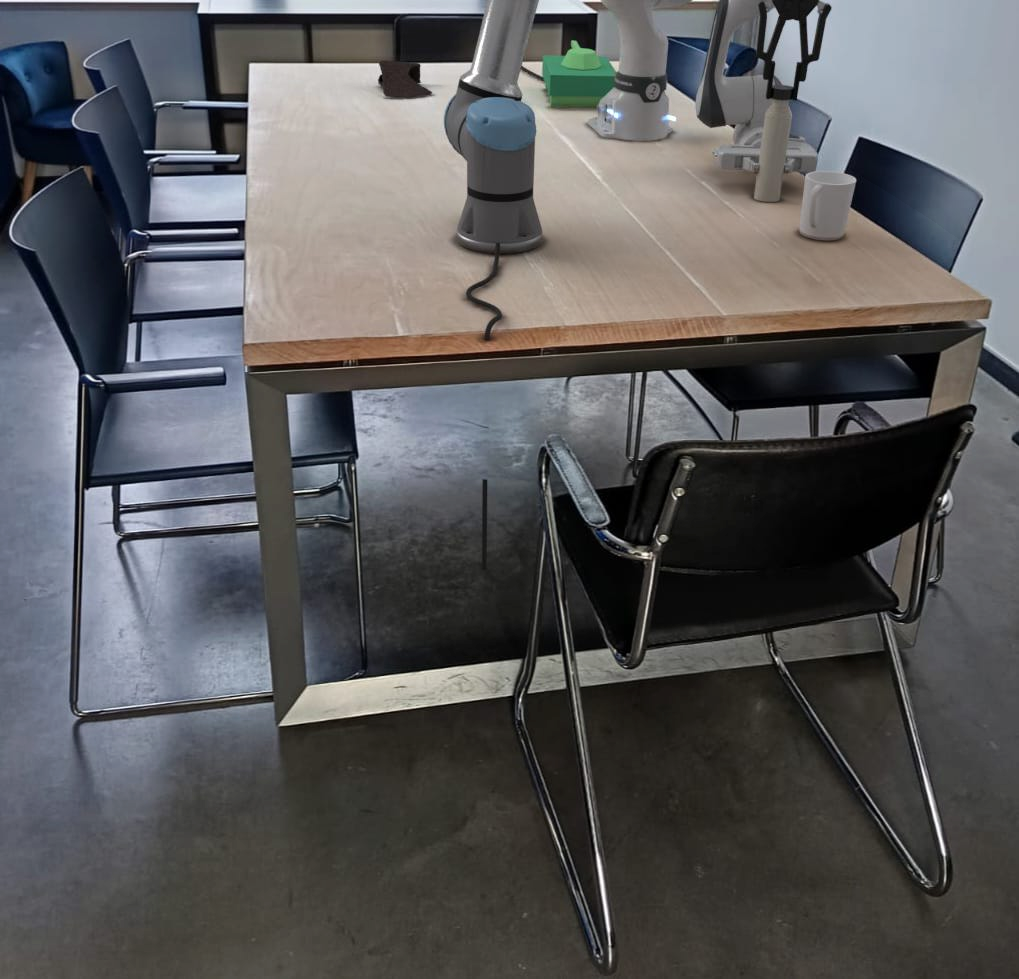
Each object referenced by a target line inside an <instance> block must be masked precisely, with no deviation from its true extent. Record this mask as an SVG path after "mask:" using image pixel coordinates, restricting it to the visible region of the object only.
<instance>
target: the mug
mask: <svg viewBox="0 0 1019 979" xmlns="http://www.w3.org/2000/svg"><path fill="white" fill-rule="evenodd" d="M856 183H857V178H856V177H855V176H853V175H851V174H848V173H844V172H840V171H832V170H815V171H814V172H806V174H805V177H804V184H803V194H802V203H801V212H800V219H799V228H798V232H799V234H800V235H802V236H803V237H805V238H809V239H812V240H817V241H836V240H840V239H842V238H843V237H844V236H845V230H846V227H847V221H848V217H849V215H850V214H849V213H850V209H851V205H852V201H853V196H854V193H855V189H856Z"/></svg>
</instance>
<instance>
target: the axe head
mask: <svg viewBox="0 0 1019 979" xmlns="http://www.w3.org/2000/svg"><path fill="white" fill-rule="evenodd" d="M378 66H379V68H380V72H381V74H379V75H378V79H377V84H378V85H379V86H380V87H381V88H382V89H383V95H384V96H385V97H388V98H394V99H395V98H396V99H403V98H405V99H406V98H407V99H411V98H418V97H425V96H429V95H432V94H433V91H431V90H430V89H428V88H427V87H425V86H422V85H421V84H422V82H421V63H419V62H410V61H408V62H407V61H397V60H388V59H387V60H380V61H379V62H378Z"/></svg>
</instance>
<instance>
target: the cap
mask: <svg viewBox="0 0 1019 979" xmlns="http://www.w3.org/2000/svg"><path fill="white" fill-rule="evenodd" d="M793 92H794V87H793V86H792V85H787V84H782V85H773V86H772V92H771V98H772V99H775V100H789V101H791V100H792V98H793Z"/></svg>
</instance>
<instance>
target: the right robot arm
mask: <svg viewBox="0 0 1019 979" xmlns="http://www.w3.org/2000/svg"><path fill="white" fill-rule="evenodd" d="M692 1H693V0H600V2H601V3H602V5H603V6H604V7H606V8H607V10H609V12H610V13H611V14H612V16H613V18H614V21H615V23H616V26H617V30H618V35H619V56H618V57H619V58H618V59H619V60H618V70H617V71H616V72H614V73H616V76H614V77H615V81H614V85H613V86H614V88H613V89H612V90H611V91H610V92H608V93H607V94H606V95H605V96H604V97H603V98H602V99H601V100H600V102H599V105H597V107H596V113H597V117H592V118H588V119H587V125H588V126H590V127H591V129H593V130H594V131H595V132H596V133H597V134H598V135H599V136H600V137H601V138H607V139H619V140H625V141H636V142H637V141H638V142H643V141H644V142H645V141H647V142H649V141H658V140H661V139H664V138H667V136H668V134H671V133H672V132H673V127H672V126H669V123H670V121H673V122H676V121H677V117H675V116H673V115H670V98H669V95H667V94H666V91H667V85H668V73H667V72H666V71H667V62H668V51H669V39H668V36H667V35H666V33H665V32H664V31H663V30H662V29H661V28H659V27H657V26H656V25H655V22H654V18H653V10H656V9H657V10H658V9H673V8H676V7H679V6H683V5H686V4H689V3H691V2H692ZM759 1H761V0H718V3H717V6H716V9H715V12H714V18H713V21H712V25H711V30H710V36H709V40H708V45H707V50H706V55H705V61H704V66H703V70H702V75H701V78H700V84H699V86H698V90H697V92H696V96H695V106H694V108H695V114H696V118H697V119H698V120H699V121H700V122H701V123H702V124H704V125H705V127H708V128H710V129H713V128H714V129H715V128H721V127H727V126H735V127H734V129H733V133H732V139H733V140H732V141H733V143H725V144H724V143H723V144H720V145H718V148H715V149H713V150H712V155H713V157H715V158H716V163H715V164H716V168H717V169H718V170H723V171H748V172H750V173H752V174H755V175H757V173H758V171H759V169H758V168H759V163H758V162H759V155H760V148H761V140H762V133H763V126H764V119H765V113H766V111H767V110H768V109H769V107H770V105H771V104H772V101H773V99H772V98H771V99H766V90H767V83H768V80H764V79H763V74H754V75H752V74H751V75H746V76H745V75H744V76H743V75H742V76H725V75H724V72H725V67H726V63H727V57H728V52H729V47H730V43H731V39H732V37H733V35H734V34H735V32H736V31H737V30H738V29H739V28H740V27H741V26H743V25H744V24H746V23H747V22H751V21H752V20H754V19H756V18H758V17H760V12H759V7H758V2H759ZM762 1H765V0H762ZM773 9H776V8H775V6H774V4H772V5H771V7H770V11H769V12H771V11H772V10H773ZM521 70H522V71H523V72H524V73H527V74H529V75H531V76H532V77H534V78H536V79H538V80H541V81H542V82H545V81H544V79H543V76H542V75H539V74H537V73H535V72H534V71H532V70H530V69H527V68H526V67H524V66H523V65H522V66H521ZM773 85H783V83H782V81H781V80H780V79H779V78H778V77H777V76H776V75H774V77H773V84H772V86H773ZM669 120H670V121H669ZM818 161H819V154H818V152H817V150H816V149H815V148H814V147H813V146H812V145H810V144H809V143H807V142H806V138H805V137H803V136H799V135H793V134H789V141H788V147H787V154H786V161H785V167H784V174H787V175H789V174H790V175H791V174H792V173H810V172H815V171H817V168H818V167H817V166H818Z"/></svg>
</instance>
